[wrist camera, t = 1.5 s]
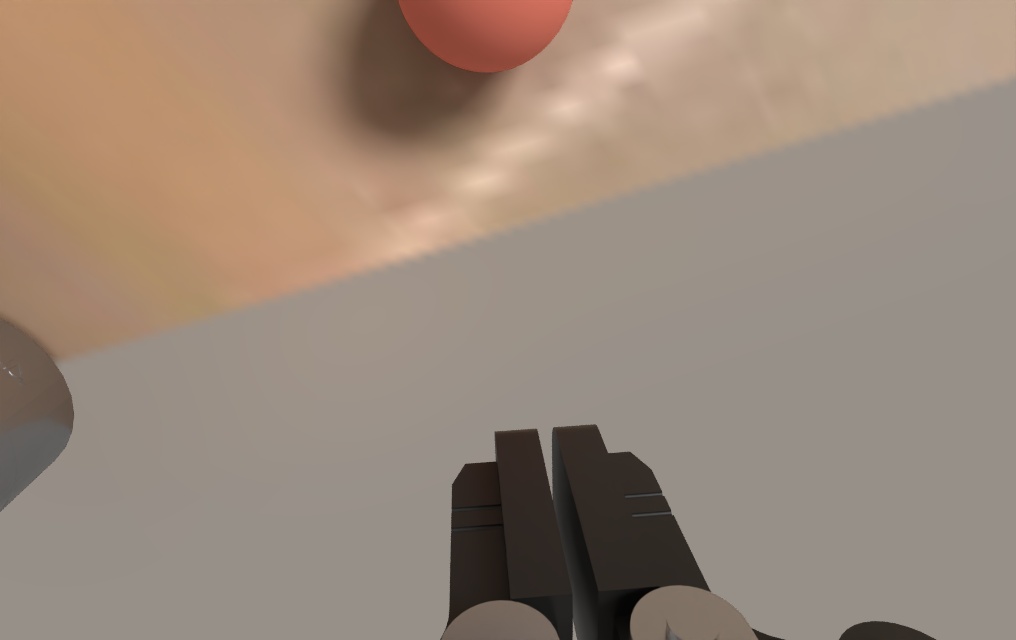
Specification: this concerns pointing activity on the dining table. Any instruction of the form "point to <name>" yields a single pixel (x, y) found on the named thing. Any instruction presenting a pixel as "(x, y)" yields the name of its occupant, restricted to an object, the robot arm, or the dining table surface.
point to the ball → (485, 30)
